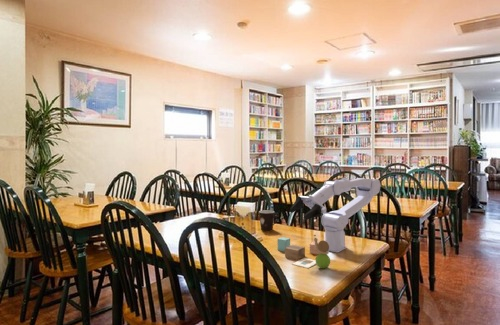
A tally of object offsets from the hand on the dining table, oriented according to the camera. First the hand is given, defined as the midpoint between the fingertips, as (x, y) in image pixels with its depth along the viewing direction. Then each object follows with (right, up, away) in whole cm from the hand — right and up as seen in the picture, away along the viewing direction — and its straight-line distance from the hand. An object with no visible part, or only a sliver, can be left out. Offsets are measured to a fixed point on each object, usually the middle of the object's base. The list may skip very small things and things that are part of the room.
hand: (297, 214), depth 138 cm
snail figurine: (+8, -19, -10) cm, 23 cm away
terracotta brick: (+9, -18, +9) cm, 22 cm away
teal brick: (-4, -18, +13) cm, 22 cm away
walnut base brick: (-1, -18, +3) cm, 19 cm away
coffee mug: (-10, -16, +49) cm, 52 cm away
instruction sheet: (+3, -18, -5) cm, 19 cm away
